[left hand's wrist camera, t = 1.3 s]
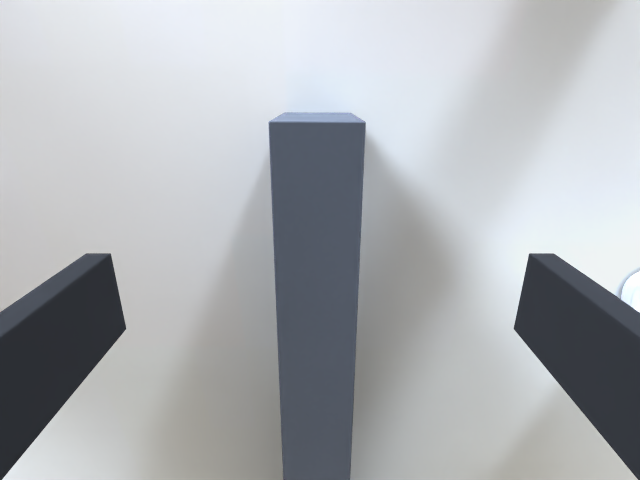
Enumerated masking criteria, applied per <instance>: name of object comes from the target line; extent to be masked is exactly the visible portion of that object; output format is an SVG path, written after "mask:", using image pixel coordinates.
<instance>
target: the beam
mask: <svg viewBox="0 0 640 480" xmlns="http://www.w3.org/2000/svg"><path fill="white" fill-rule="evenodd" d="M365 124H366V123H365V121H363V120H361V119H360V118H358V117H357V116H355V115H353V114H352V113H283V114H281V115H280V116H278V117H276V118H274V119H273V120H271V121H269V141H270V165H271V190H272V214H273V238H274V262H275V287H276V311H277V335H278V359H279V384H280V408H281V432H282V456H283V480H350V467H351V444H352V421H353V398H354V375H355V352H356V330H357V307H358V284H359V261H360V238H361V215H362V193H363V170H364V147H365Z"/></svg>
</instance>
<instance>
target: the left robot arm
mask: <svg viewBox="0 0 640 480" xmlns="http://www.w3.org/2000/svg"><path fill="white" fill-rule="evenodd" d="M125 330H126V325H125V321H124V316H123V311H122V306H121V301H120V296H119V291H118V287H117V282H116V277H115V272H114V267H113V262H112V258H111V254H85V255H83V256H82V257H81V258H79V259H78V260H76V261H75V262H73V263H72V264H70V265H69V266H67V267H66V268H64V269H63V270H62V271H60V272H59V273H57V274H56V275H54V276H53V277H51V278H50V279H48V280H47V281H45V282H44V283H43V284H41V285H40V286H38V287H37V288H35V289H34V290H32V291H31V292H29V293H28V294H26V295H25V296H24V297H22V298H21V299H19V300H18V301H16V302H15V303H13V304H12V305H10V306H9V307H7V308H6V309H4V310H3V311H2V312H0V480H2V479H3V478H4V476H5V475H6V474H7V473H8V471H9V470H10V469H11V468H12V467H13V465H14V464H15V463H16V462H17V461H18V459H19V458H20V457H21V456H22V455H23V453H24V452H25V451H26V450H27V448H28V447H29V446H30V445H31V444H32V442H33V441H34V440H35V439H36V438H37V436H38V435H39V434H40V433H41V431H42V430H43V429H44V428H45V427H46V425H47V424H48V423H49V422H50V421H51V419H52V418H53V417H54V416H55V414H56V413H57V412H58V411H59V410H60V408H61V407H62V406H63V405H64V404H65V402H66V401H67V400H68V399H69V398H70V396H71V395H72V394H73V393H74V391H75V390H76V389H77V388H78V387H79V385H80V384H81V383H82V382H83V381H84V379H85V378H86V377H87V376H88V374H89V373H90V372H91V371H92V370H93V368H94V367H95V366H96V365H97V364H98V362H99V361H100V360H101V359H102V358H103V356H104V355H105V354H106V353H107V351H108V350H109V349H110V348H111V347H112V345H113V344H114V343H115V342H116V341H117V339H118V338H119V337H120V336H121V334H122V333H123V332H124V331H125ZM514 330H515V331H516V332H517V333H518V334H519V336H520V337H521V338H522V339H523V341H524V342H525V343H526V344H527V345H528V347H529V348H530V349H531V350H532V351H533V353H534V354H535V355H536V356H537V358H538V359H539V360H540V361H541V362H542V364H543V365H544V366H545V367H546V368H547V370H548V371H549V372H550V373H551V374H552V376H553V377H554V378H555V379H556V381H557V382H558V383H559V384H560V385H561V387H562V388H563V389H564V390H565V391H566V393H567V394H568V395H569V396H570V398H571V399H572V400H573V401H574V402H575V404H576V405H577V406H578V407H579V408H580V410H581V411H582V412H583V413H584V414H585V416H586V417H587V418H588V419H589V421H590V422H591V423H592V424H593V425H594V427H595V428H596V429H597V430H598V431H599V433H600V434H601V435H602V436H603V438H604V439H605V440H606V441H607V442H608V444H609V445H610V446H611V447H612V448H613V450H614V451H615V452H616V453H617V455H618V456H619V457H620V458H621V459H622V461H623V462H624V463H625V464H626V465H627V467H628V468H629V469H630V470H631V471H632V473H633V474H634V475H635V476H636V478H637V479H638V480H640V312H638V311H637V310H636V309H634V308H633V307H631V306H630V305H628V304H627V303H625V302H624V301H622V300H621V299H619V298H618V297H616V296H615V295H614V294H612V293H611V292H609V291H608V290H606V289H605V288H603V287H602V286H600V285H599V284H597V283H596V282H595V281H593V280H592V279H590V278H589V277H587V276H586V275H584V274H583V273H581V272H580V271H578V270H577V269H576V268H574V267H573V266H571V265H570V264H568V263H567V262H565V261H564V260H562V259H561V258H559V257H558V256H557V255H555V254H529V258H528V262H527V267H526V272H525V277H524V282H523V287H522V291H521V296H520V301H519V306H518V311H517V316H516V321H515V325H514Z"/></svg>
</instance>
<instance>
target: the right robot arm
mask: <svg viewBox="0 0 640 480" xmlns="http://www.w3.org/2000/svg"><path fill="white" fill-rule="evenodd" d="M621 300H622V301H624V302H625V303H627V304H628V305H630V306H631V307H633V308H634V309H636V310H637V311H638V312H640V271H639V272H637V273H635V274H634V275H632V276H631V277H629V278H628V279H627V281H626V282H625V284H624V286H623V290H622V294H621Z"/></svg>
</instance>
